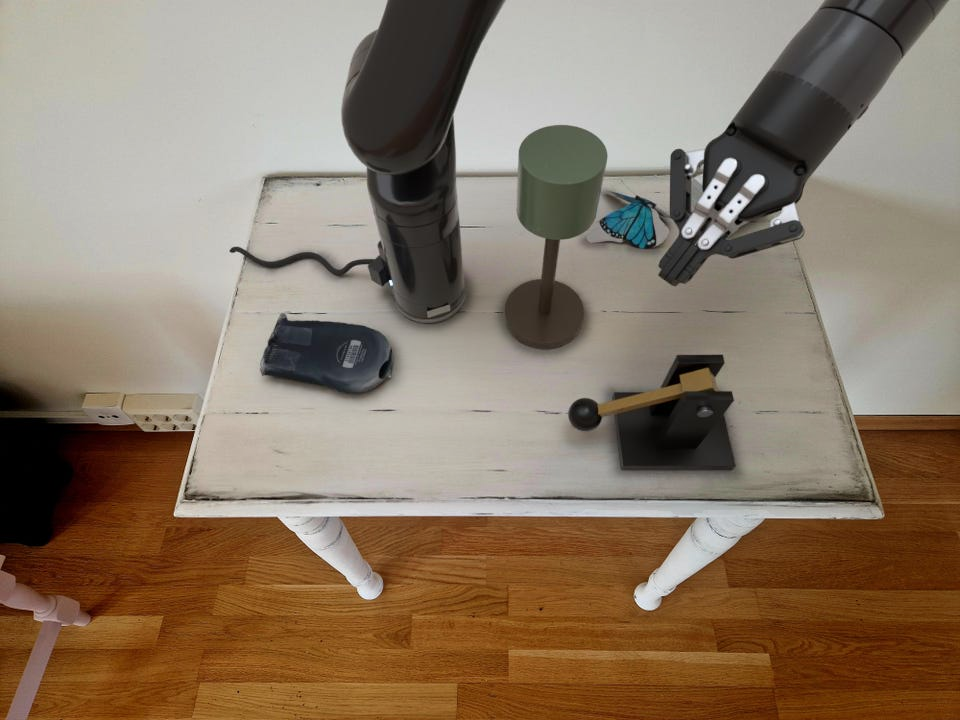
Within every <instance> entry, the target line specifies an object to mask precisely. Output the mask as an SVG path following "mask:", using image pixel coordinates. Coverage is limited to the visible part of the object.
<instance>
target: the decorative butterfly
mask: <svg viewBox="0 0 960 720" xmlns="http://www.w3.org/2000/svg"><path fill="white" fill-rule="evenodd" d="M621 182H622V184H623V185H625V183H624V182H623V180H621ZM627 190H629V191H630V192H632V190H630V188H629V187H627ZM604 192H605V193H606V194H608V195H610V196H612V197H615V198H617V199H619V200H622V201H625V202H627V203H629V204H627V205H626V206H624V207H621V208H620V209H617V210H615V211H613V212H610V213H609V214H607V215H605V216H603V217H601V219H599V220H598V221H597V222H596V223H595V224H593V225H591V227H590V228H589V229H588V230H587V231H586V234H585V239H586V241H587V242H588V243H591V244H596V243H603V242H616V243H624V242H626V241H627V242H628V243H629V245H631V246H632V247H634V248H638V249H642V250H649V249H653V248H655V247H657V246H660V245H661V244H662V243H664V241H665V240H666V239H667V237H668V236H669V233H670V231H669V227H668V226H667V225H666V223H664V222H663V220H661V217H663V218H665V219H669V220H672V219H671V218H670V211H669V210H666V209H665V208H664V207H662V206H660V205H658V204H657V203H655V202H653V201H651V200H649V199H647V198H644V197H641V196H639V195H637V194H635V192H633V194H634V195H635V196H634V197H633V196H630V195H625V194H622V193H619V192H615V191H611V190H604Z"/></svg>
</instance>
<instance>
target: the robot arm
mask: <svg viewBox="0 0 960 720" xmlns="http://www.w3.org/2000/svg"><path fill="white" fill-rule="evenodd" d="M506 1H507V0H387V1H386V4H385V8H384V10H383V14H382V16H381V19H380V22H379V25H378V28H377V29H374V30H373V31H372V32H370V33H368V34H367V35H366V36H365V37H363V39H362V40H361V41H360V42H359V43H358V45H357V46H356V48H355V50H354V51H353V53H352V56H351V59H350V63H349V68H348V72H347V75H346V81H345V85H344V89H343V93H342V99H341V106H340V120H341V126H342V131H343V136H344V137H345V141H346V143H347V146H348V147H349V149H350V151H351V152H352V154H353V156H355V157H356V159H358V161H359V162H360V163H361V164H362V165H364V166H365V167H366V188H367V192H368V193H367V194H368V196H369V201H370V204H371V208H372V213H373V216H374V221H375V224H376V228H377V232H378V235H379V239H380V240H379V241H378V242H377V249H378V253H379V255H378V256H376V257H375V258H361V259H360V258H359V259H355V260H352V261H349V262H348V263H347V264H346V265H345V266H344V267H342V268H340V269H338V268H335V267H334V266H332V265H331V263H330V262H329V261H328V260H327V259H326V258H325V257H323V256H322V255H320V254H319V253H316V252H313V251H302V252H298V253H295V254H292V255H290V256H287V257H285V258H282V259H278V260H273V261H270V260H269V261H268V260H263V259H261V258H259V257H256V256H255V255H253V254H252V253H250V251H249V252H248V251H247V250H246V249H244V248H242V247H241V246H232V247H231V248H230V249H229V253H231V254H234V253H239V254H241V255H242V256H243V257H245V258H247V259H248V260H249V261H251V262H253V263H254V264H257V265H259V266H262V267H268V268H275V267H280V266H284V265H287V264H289V263H292V262H294V261H297V260H300V259H304V258H312V259H316V260H317V261H319V262H320V264H322V265H323V266H324V267H325V268H326V269H327V270H328V272H330V273H332V274H333V275H337V276H342V275H345V274H347V273H348V272H349V271H350V270H351V269H352V268H354V267H357V266H362V265H367V269H368V272H369V276H370V279H371V280H372V281H373V282H374V283H375V284H377V285H378V286H380V287H382V288H383V287H384V286H385V285H387V288H388V292H389V294H390V295H391V296H393V298H394V302H395V306H396V307H397V309H398V311H399V312H400V313H401V314H402V315H403V316H404V317H405V318H407V319H409V320H411V321H413V322H416V323H421V324H436V323H439V322H443V321H445V320H448V319H450V318H451V317H453V316H454V315H455V314H457V313H458V312H459V311H460V310H461V308H462V307H463V305H464V303H465V301H466V294H467V292H466V283H465V277H464V273H465V271H464V261H463V249H462V236H461V225H460V223H461V222H460V211H459V203H458V202H459V201H458V188H457V147H456V134H455V131H456V130H455V117H454V114H455V111H456V108H457V106H458V103H459V101H460V98H461V95H462V92H463V89H464V87H465V85H466V82H467V79H468V76H469V74H470V72H471V69H472V66H473V64H474V61H475V59H476V56H477V55H478V52H479V50H480V48H481V46H482V43H483V42H484V40H485V38H486V36H487V34H488V33H489V31H490V29H491V28H492V26H493V24H494V22H495V20H496V19H497V17H498V15H499V14H500V12H501V10H502V8H503V6H504V5H505V3H506ZM949 2H950V0H823V2H822V3H821V4H820V6H819V7H818V9H817V10H816V11H815V12H814V13H813V15H812V16H811V17H810V19H809V20H807V22H806V23H805V24H804V25H803V26H802V27H801V28H800V30H799V31H797V33H796V34H795V35H794V36H793V37H792V38H791V40H790V41H789V42H788V43H787V44H786V46H785V48H784V49H783V50H782V52H781V53H780V54H779V56H778V57H777V58H776V60H775V61H774V62H773V64H772V65H771V66H770V68H769V69H768V71H767V72H766V74H765V75H764V76H763V77H762V79H761V80H760V82H759V83H758V84H757V85H756V87H755V88H754V90H753V91H752V92H751V94H750V95H749V96H748V97H747V99H746V101H745V102H744V103H743V104H742V106H741V108H740V109H739V110H738V111H737V113H736V114H735V115H734V117H733V118H732V119H731V121H730V123H729V124H728V126H727V127H726V129H725V130H724V131H723V132H722V133H721V134H719V135H718V136H717V137H715V138H713V139H712V140H710V141H709V142H708V143H707V145H706V146H705V148H701V149H695V150H690V151H684V149H682V148H676V149H674V150H673V151H672V152H671V153H670V157H669V159H670V160H669V161H670V164H669V212H670V213H669V216H670V218H671V219H670V220H672V221H673V223H674V224H675V226H676V227H677V228H678V236H677V238H676V239H675V240H674V241H673V243H672V244H671V245H670V247H669V248H668V249H667V251H665V253H664V255H663V256H662V257H661V259H660V260H659V263H658V266H657V268H659V269H660V270H659V273H658V274H657V276H658V277H659V278H660V279H662V280H663V281H665V282H666V283H667V284H668V285H670V286H671V287H672V286H673V287H677V286H679V284H682V285H685V284H687V283H689V282H690V281H691V280H692V279H693V278H694V276H695V275H696V274H697V273H698V272H699V270H700V269H701V268H702V266H703V265H704V264H705V263H706V261H707V260H708V259H709V258H710V257H712V256H715V255H719V256H722V257H727V258H728V259H732V260H733V259H738V258H740V257H744V256H748V255H751V254H755V253H758V252H761V251H764V250H768V249H772V248H775V247H779V246H781V245H785V244H789V243H792V242H796V241H798V240H801V239H802V238H803V237H804V235H805V232H806V231H805V226H804V225H803V224H802V223H801V219H800V215H799V212H798V208H797V204H798V203H799V202H800V200H801V198H802V196H803V192H804V188H805V186H806V183H807V181H808V180H809V179H810V178H811V177H812V175H813V174H814V173H815V172H816V170H817V169H818V168H819V167H820V165H821V164H822V163H823V161H825V159H826V158H827V157H828V155H830V153H831V152H832V150H833V149H834V148H835V147H836V146H837V145H838V143H839V142H840V141H841V140H842V139H843V137H844V136H845V135H846V134H847V132H849V130H850V129H851V128H852V126H853V125H854V124H855V123H856V121H858V120H860V118H862V117H863V116H864V114H865V113H866V112H867V110H869V107H870V105H871V103H872V102H873V101H874V100H875V98H876V97H877V96H878V95H879V94H880V92H881V91H882V89H883V88H884V86H885V84H886V83H887V82H888V80H889V79H890V77H891V76H892V74H893V72H894V71H895V69H896V68H897V66H898V65H899V64H900V62H901V61H902V60H903V59H904V57H905V56H906V55H907V54H908V53H909V51H910V50H911V49H912V48H913V46H914V45H915V44H916V43H917V42H918V41H919V39H920V38H921V37H922V36H923V35H924V33H925V32H926V31H927V29H928V28H929V27H930V26H931V24H932V23H933V22H934V21H935V19H937V18H938V16H939V15H940V14H941V12H942V11H943V10H944V8H945V7H946V6H947V4H948V3H949ZM702 167H703V168H702ZM701 168H702V174H703V182H702V190H703V194H702V196H701V198H700V199H699V201H698V202H697V204H696V206H695V209H694V211H693V212H691V185H692V181H693V178H695V177H697V176H699V173H700V170H701ZM778 212H780V213H779V214H778V215H776V216H774V217H773V218H771V219H770V222H769V227H767V228H763V229H759V230H757V231H754V232H751V233H747V234H744V235H741V236H738V237H734V238H731V239H730V238H729V237H731V236H732V235H734V234H735V233H736V232H737V231H738V230H739V229H740V228H741V227H742V226H741V225H742V224H743V223H744V222H745V221H750V222H752V221H757V220H759V219H762V218H764V217H767V216H769V215H773V214H775V213H778ZM714 220H715V221H714ZM713 221H714V222H713ZM712 222H713V224H712ZM711 224H712V225H711ZM710 225H711V226H710ZM740 226H741V227H740Z"/></svg>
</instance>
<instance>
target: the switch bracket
mask: <svg viewBox="0 0 960 720" xmlns="http://www.w3.org/2000/svg"><path fill="white" fill-rule="evenodd" d="M725 364H726V362H725V358H724V354H676V356H675V358H674V360H673V362H672V364H671V365H670V368H669V370H668V371H667V374H666V376H665V377H664V379H663V381H662V384H661V385H660V387H659V389H660V388H664V387H668V386H672V385H676V384H680V383H681V381H680V375H682V374H686V373H689V372H693V371H697V370H701V369H704V368H709V369H710V371H711V372H712V374H713V375H714V377H715V378H716V377H717V376H718V375H719V373H720V371H721V370H722V368H723V367H724V366H725ZM645 392H646V391H620V392H619V391H614V392H613V394H612V401H614V400H618V399H622V398H626V397H629V396H633V395H637V394H641V393H645ZM734 401H735V399H734V394H733V391H732V390H718V391H684V393H683V394H682V396H681V398H679V399H675V400H671V401H666V402H662V403H658V404H654V405H650V406H646V407H642V408H638V409H634V410H630V411H626V412H622V413H618V414H614V421H615V422H614V423H615V429H616V437H617V446H618V453H619V461H620V469H621V471H732V470H734V468H735V467H736V466H737V465H736V462H735V457H734V452H733V448H732V444H731V439H730V436H729V431H728V426H727V422H726V418H725V413H726V412H727V410H728V409H730V407H731V405H732V404H733V403H734Z"/></svg>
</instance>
